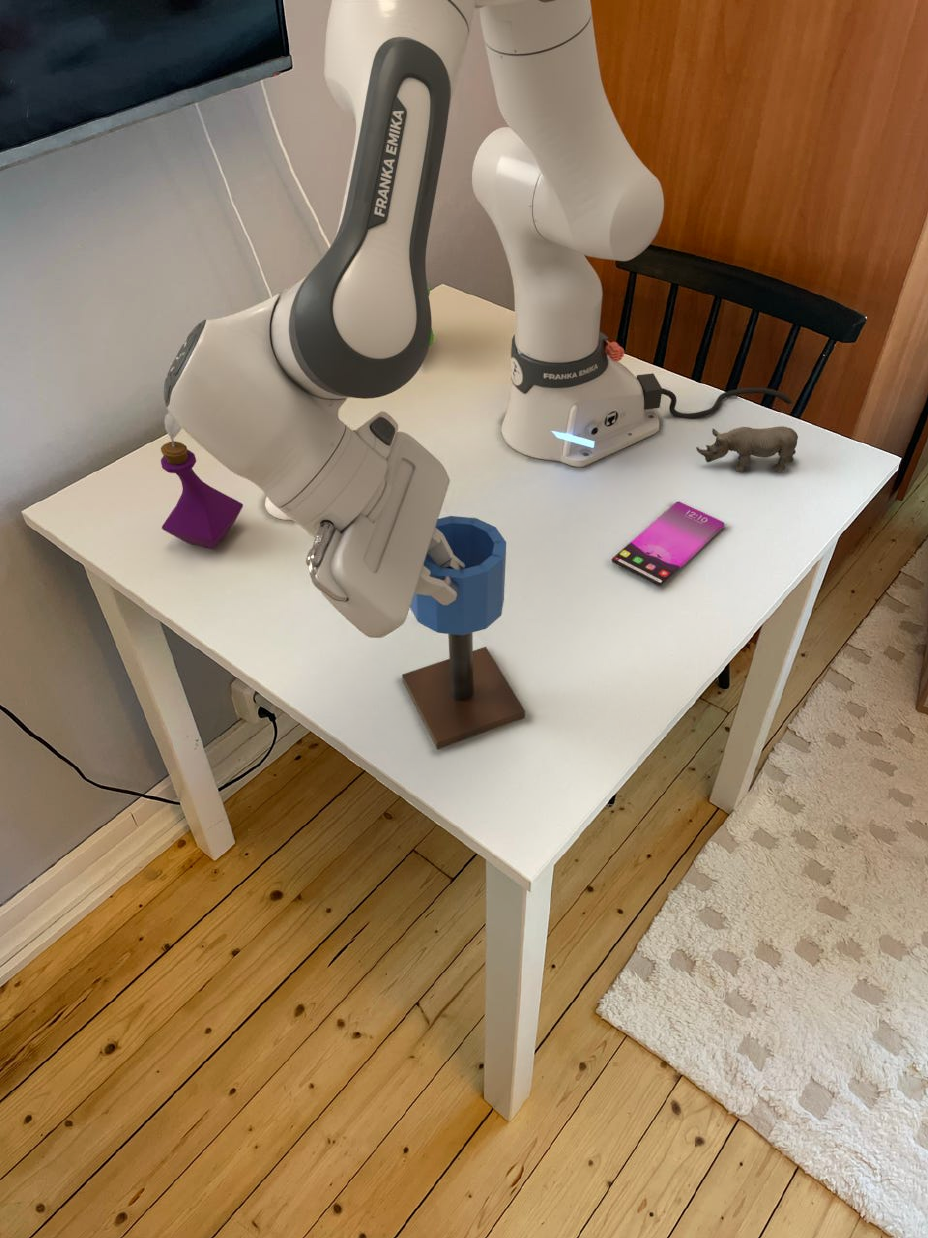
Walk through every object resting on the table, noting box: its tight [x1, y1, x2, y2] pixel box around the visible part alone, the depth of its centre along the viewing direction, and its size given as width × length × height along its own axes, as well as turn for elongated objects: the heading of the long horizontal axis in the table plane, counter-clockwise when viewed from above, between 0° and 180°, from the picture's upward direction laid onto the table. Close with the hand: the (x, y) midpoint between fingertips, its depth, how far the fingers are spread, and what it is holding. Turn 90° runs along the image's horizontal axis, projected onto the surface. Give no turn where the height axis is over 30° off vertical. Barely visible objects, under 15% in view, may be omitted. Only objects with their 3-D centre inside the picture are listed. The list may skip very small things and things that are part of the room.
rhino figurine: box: [695, 425, 799, 473], centre depth 128 cm, size 4×14×6 cm, turn 89°
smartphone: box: [611, 501, 725, 587], centre depth 119 cm, size 7×15×1 cm, turn 139°
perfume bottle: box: [160, 411, 244, 550], centre depth 116 cm, size 8×8×18 cm
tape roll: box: [409, 515, 507, 635], centre depth 89 cm, size 9×9×7 cm
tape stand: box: [401, 633, 526, 750], centre depth 97 cm, size 10×10×16 cm
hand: (456, 586), depth 85 cm, fingers closed on tape roll
